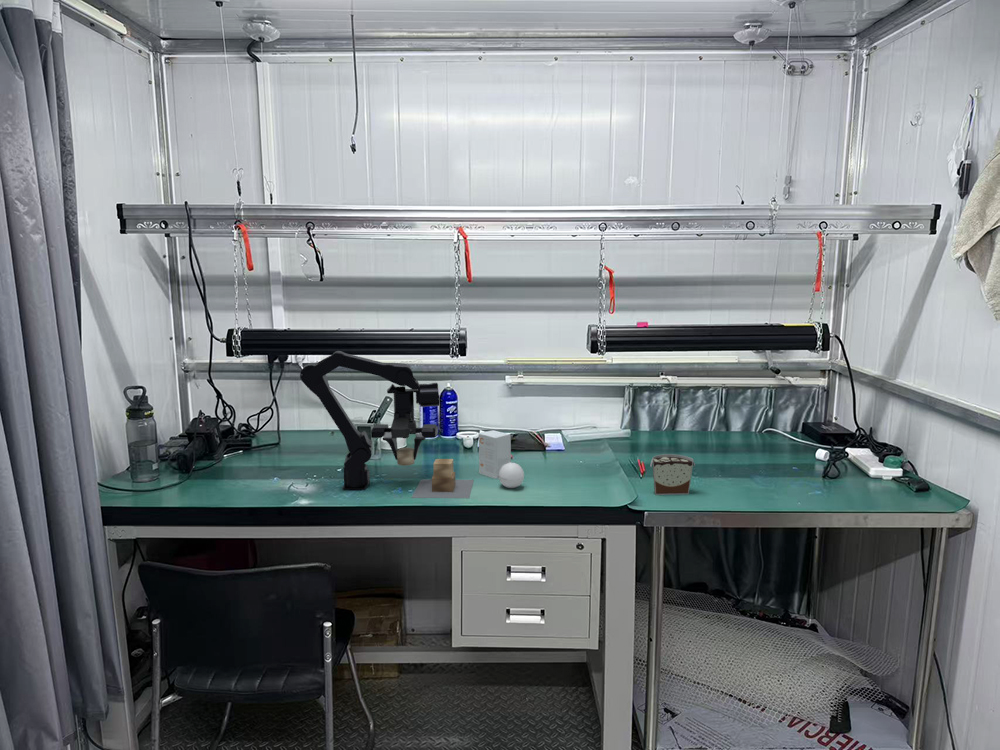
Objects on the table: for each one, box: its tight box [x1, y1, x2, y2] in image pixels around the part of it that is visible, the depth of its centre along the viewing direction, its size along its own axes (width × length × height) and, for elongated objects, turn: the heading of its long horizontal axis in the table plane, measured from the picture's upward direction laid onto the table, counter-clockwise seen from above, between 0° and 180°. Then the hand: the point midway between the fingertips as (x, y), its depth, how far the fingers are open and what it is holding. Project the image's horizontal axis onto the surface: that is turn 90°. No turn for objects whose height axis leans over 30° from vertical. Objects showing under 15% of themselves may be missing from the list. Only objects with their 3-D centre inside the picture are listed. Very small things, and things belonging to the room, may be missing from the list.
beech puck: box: [396, 447, 416, 467], centre depth 186 cm, size 5×5×4 cm
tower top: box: [432, 458, 454, 478], centre depth 181 cm, size 5×5×4 cm
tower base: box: [431, 471, 456, 492], centre depth 181 cm, size 6×6×4 cm
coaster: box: [411, 478, 475, 499], centre depth 182 cm, size 16×16×1 cm
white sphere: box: [493, 462, 525, 489], centre depth 182 cm, size 10×7×7 cm
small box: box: [478, 429, 512, 480], centre depth 194 cm, size 8×6×13 cm
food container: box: [649, 453, 696, 496], centre depth 178 cm, size 12×6×10 cm, turn 91°
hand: (405, 459), depth 186 cm, fingers closed on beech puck, 5 cm apart
